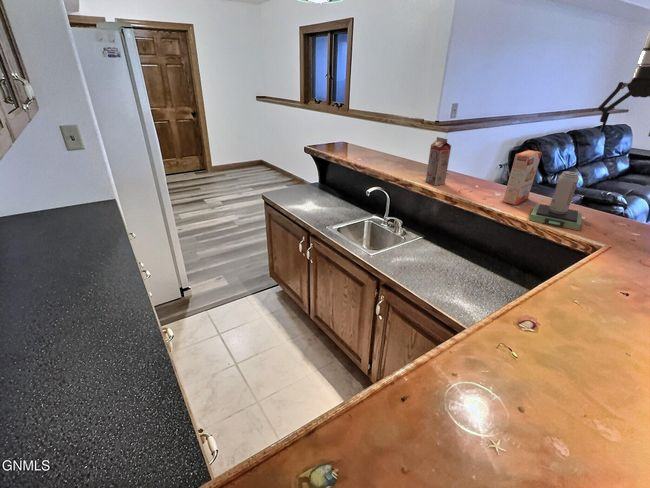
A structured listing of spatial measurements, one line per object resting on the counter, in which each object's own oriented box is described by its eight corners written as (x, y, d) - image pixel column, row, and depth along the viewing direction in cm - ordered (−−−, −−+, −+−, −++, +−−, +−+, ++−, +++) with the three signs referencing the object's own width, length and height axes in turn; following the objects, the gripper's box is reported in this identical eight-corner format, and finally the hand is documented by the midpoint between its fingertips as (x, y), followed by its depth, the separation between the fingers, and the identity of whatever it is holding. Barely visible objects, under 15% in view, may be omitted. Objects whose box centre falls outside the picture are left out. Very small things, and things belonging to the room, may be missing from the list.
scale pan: (577, 212, 134) (578, 210, 134) (576, 222, 126) (577, 220, 125) (539, 205, 141) (540, 203, 141) (535, 214, 132) (536, 212, 132)
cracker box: (516, 206, 147) (530, 156, 138) (502, 202, 151) (514, 153, 142) (529, 199, 156) (542, 151, 146) (515, 195, 160) (527, 149, 150)
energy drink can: (550, 207, 137) (562, 169, 130) (568, 211, 133) (581, 172, 126) (546, 211, 133) (559, 173, 126) (565, 215, 129) (579, 176, 122)
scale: (580, 218, 135) (582, 212, 134) (578, 231, 124) (581, 225, 123) (533, 209, 144) (535, 204, 142) (528, 221, 132) (530, 215, 131)
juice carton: (434, 185, 172) (442, 139, 162) (425, 181, 178) (432, 137, 168) (444, 183, 175) (452, 138, 165) (435, 180, 180) (442, 136, 170)
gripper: (604, 65, 116) (582, 131, 126) (707, 66, 104) (673, 139, 113) (603, 66, 122) (582, 129, 131) (701, 66, 109) (670, 136, 119)
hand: (624, 134), depth 122 cm, fingers open, 13 cm apart
